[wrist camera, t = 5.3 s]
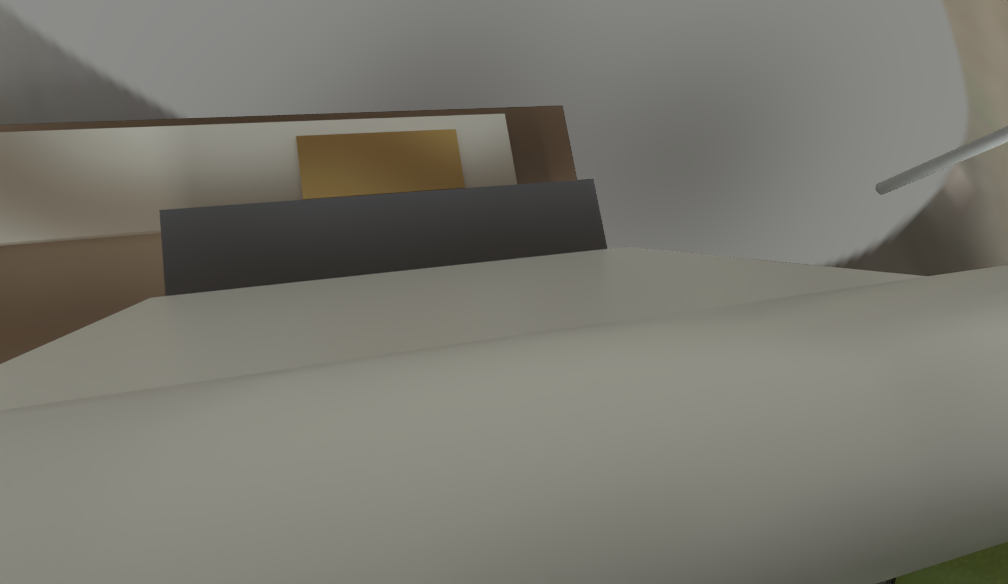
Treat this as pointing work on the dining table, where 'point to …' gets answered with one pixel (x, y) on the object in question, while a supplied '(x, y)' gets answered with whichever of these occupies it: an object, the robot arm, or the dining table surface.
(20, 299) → the switch board
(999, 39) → the dining table surface
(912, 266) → the dining table surface
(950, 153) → the lollipop
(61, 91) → the dining table surface
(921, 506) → the toggle
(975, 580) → the plant pot
